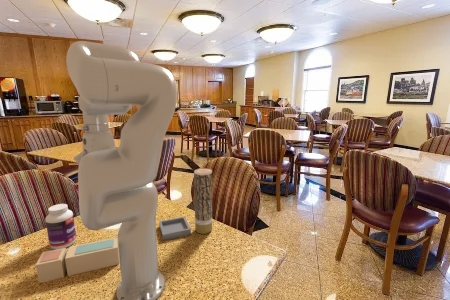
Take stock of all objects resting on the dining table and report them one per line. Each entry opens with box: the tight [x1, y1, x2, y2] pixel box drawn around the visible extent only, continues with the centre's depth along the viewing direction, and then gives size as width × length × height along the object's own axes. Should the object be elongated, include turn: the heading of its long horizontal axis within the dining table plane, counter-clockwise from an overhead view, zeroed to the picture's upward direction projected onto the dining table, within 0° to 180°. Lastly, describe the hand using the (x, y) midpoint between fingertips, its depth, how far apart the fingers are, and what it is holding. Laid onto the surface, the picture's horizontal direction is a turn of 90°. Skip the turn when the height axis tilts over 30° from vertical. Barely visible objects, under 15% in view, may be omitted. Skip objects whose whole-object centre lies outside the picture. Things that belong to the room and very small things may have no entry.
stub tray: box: [158, 216, 192, 241], centre depth 93 cm, size 11×11×2 cm
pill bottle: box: [45, 203, 77, 250], centre depth 82 cm, size 8×8×14 cm
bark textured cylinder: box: [193, 167, 213, 235], centre depth 91 cm, size 7×7×25 cm
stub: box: [35, 247, 68, 284], centre depth 69 cm, size 6×6×6 cm
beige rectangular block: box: [65, 236, 120, 277], centre depth 73 cm, size 6×14×6 cm, turn 112°
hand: (102, 175), depth 85 cm, fingers open, 9 cm apart
